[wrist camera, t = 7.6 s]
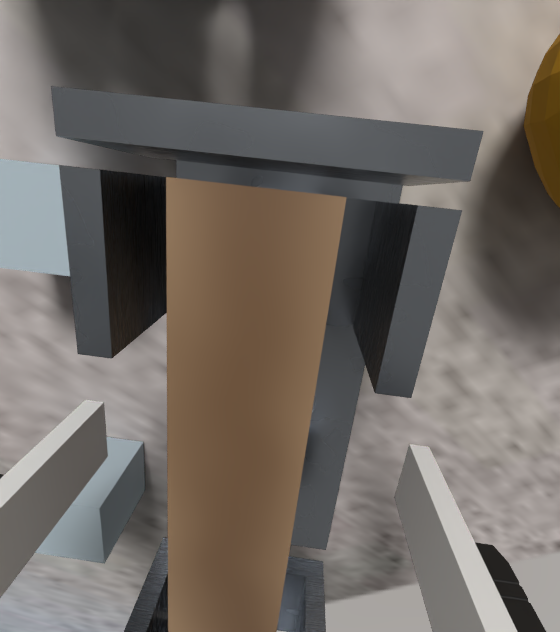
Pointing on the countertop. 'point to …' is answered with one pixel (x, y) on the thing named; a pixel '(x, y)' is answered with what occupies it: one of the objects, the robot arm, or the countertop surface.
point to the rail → (240, 390)
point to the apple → (546, 121)
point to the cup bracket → (348, 283)
